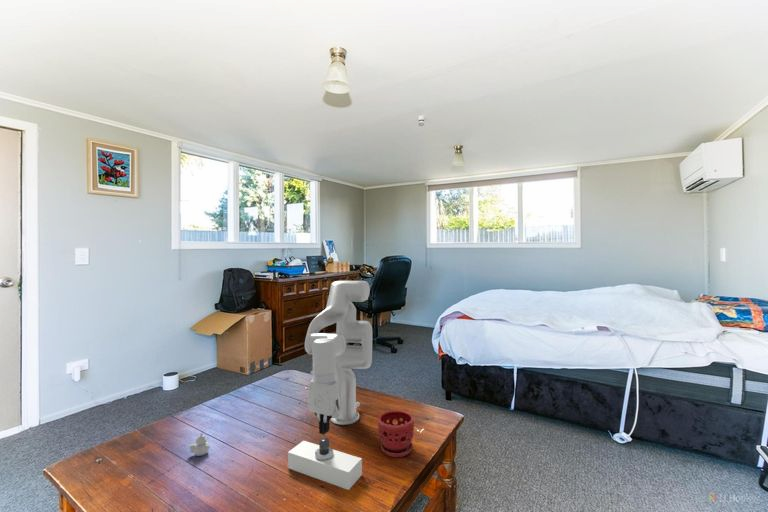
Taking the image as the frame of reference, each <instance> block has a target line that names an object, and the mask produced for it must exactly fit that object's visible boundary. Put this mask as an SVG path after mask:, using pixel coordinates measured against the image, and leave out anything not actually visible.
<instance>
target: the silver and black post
mask: <svg viewBox="0 0 768 512" xmlns="http://www.w3.org/2000/svg"><path fill="white" fill-rule="evenodd" d="M318 445H319V449H317V450H316V452H315V458H316V459H317V460H320V461H325V460H329V459H331V458H332V457H333V450H334V449H333V448H331V447H330V439H329V438H328V437H321V438H320V439H319V441H318Z"/></svg>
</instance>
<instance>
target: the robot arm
mask: <svg viewBox="0 0 768 512" xmlns="http://www.w3.org/2000/svg"><path fill="white" fill-rule="evenodd" d="M370 289H371V288H370V284H369V282H368V281H366V280H336V281H333V282H331V284H330V290H329V294H328V298H327V301H326V306H325V309H324V310H322V311H321V312H320V313H319V314H317V315H316V316H315V317H314V318H313V319H312V321H311V322H310V323H309V326H308V328H307V332H306V336H305V340H304V351H305V352H306V353H307V354H308V355H310V356H311V355H312V370H311V371H310V372H309V373H310V374H309V375H310V376H312V379H311V380H310V383H309V386H308V394H307V410H309V411H310V412H311V413H312V414H314V415H315V416H316V420H317V421H318V430H319V431H318V433H319V434H320V435H323V436H325V434H327V433H328V432H329V431H330V422H332V423H333V424H336V425H338V426H339V425H341V426H344V425H345V426H346V425H347V426H348V425H352V424H354V423H356V422H358V420H359V419H360V413H359V412H358V411H357V409H358V407H359V406H360V405H361V402H359V401H357V400H356V399H357V398H356V396H357V395H356V394H357V393H356V392H357V390H356V389H357V387H356V386H357V385H356V383H357V379H356V375H355V373H354V371H353V370H352V369H354V370H356V369H357V370H358V369H359V370H363V369H364V370H365V369H369V368H370V367H371V366H372V362H373V326H372V324H371V323H370V321H367V320H357V308H356V306H355V305H354V303H353V302H355V303H358V302H359V303H361V302H365V301H367V300H368V299H369V297H370V291H371V290H370ZM334 324H336V330H335V331H336V333H333V332H320V331H321V330H323V329H324V328H326V327H328V326H332V325H334ZM347 343H360V344H361V345H347Z"/></svg>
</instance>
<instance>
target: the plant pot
mask: <svg viewBox="0 0 768 512" xmlns="http://www.w3.org/2000/svg"><path fill="white" fill-rule="evenodd" d="M400 419H402V420H400ZM414 419H415V418H414V416H413V415H412V414H411V413H409V412H406V411H402V410H390V411H386V412H383V413H382V414H380V415H379V416H378V418H377V425H378V427H377V428H378V435H379V439H380V441H381V445H380V448H381V451H382V452H383V453H384V454H385V455H387V456H389V457H392V458H399V457H405V456H407V455H409V454H410V453H411V451H412V450H413V446H414V445H413V443H412V441H413V436H414V428H415V427H414V426H415V424H414V423H415V422H414ZM394 420H396V421H397V423H396V424H394V423H393V421H394Z"/></svg>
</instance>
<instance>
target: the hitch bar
mask: <svg viewBox="0 0 768 512" xmlns="http://www.w3.org/2000/svg"><path fill="white" fill-rule="evenodd" d="M317 449H319V444H316V443H313V442H309V441H306V440H302V441H300V443H298V444H297V445H296V446H294V447H293V448H292V449H290V450H289V451H288V452H287V469H290V470H292V471H295V472H297V473H300V474H304V475H306V476H308V477H312V478H314V479H317V480H320V481H323V482H324V483H327V484H330V485H334V486H337V487H340V488H342V489H345V490H348V491H349V490H351V488H352V487H353V486H354V485H355V483H357V481H358V480H359V479H360V477H362V475H363V458H361V457H358V456H355V455H352V454H348V453H346V452H343V451H339V450H336V449H333V457H332V458H331V459H329V460H325V461H320V460H317V459H316V458H315V452H316V450H317Z"/></svg>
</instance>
